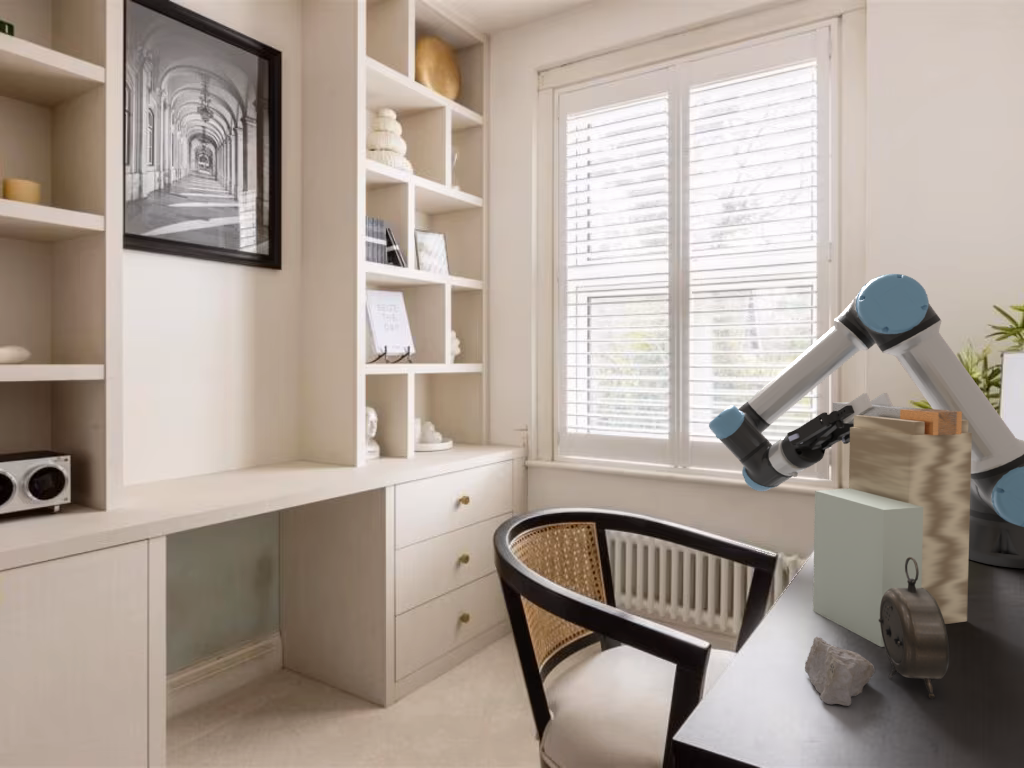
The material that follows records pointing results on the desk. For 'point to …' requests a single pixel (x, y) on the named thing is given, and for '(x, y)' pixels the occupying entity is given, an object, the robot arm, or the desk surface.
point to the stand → (922, 495)
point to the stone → (837, 672)
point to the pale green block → (862, 556)
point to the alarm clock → (914, 632)
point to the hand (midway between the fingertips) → (878, 400)
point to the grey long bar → (917, 417)
